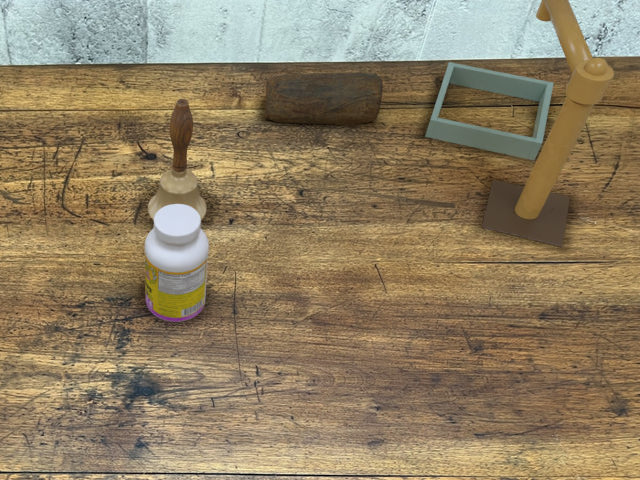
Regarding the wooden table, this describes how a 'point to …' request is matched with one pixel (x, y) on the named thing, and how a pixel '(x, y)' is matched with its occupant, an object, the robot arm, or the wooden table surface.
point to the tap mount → (539, 186)
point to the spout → (577, 54)
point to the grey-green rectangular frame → (486, 136)
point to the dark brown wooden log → (324, 98)
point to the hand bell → (179, 167)
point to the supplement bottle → (176, 264)
